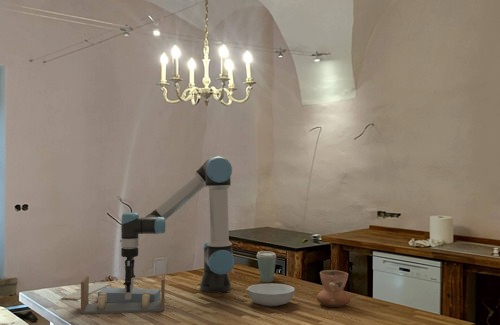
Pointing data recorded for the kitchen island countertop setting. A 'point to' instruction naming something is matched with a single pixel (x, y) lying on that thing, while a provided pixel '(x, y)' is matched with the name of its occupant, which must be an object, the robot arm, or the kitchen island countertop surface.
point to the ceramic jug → (333, 289)
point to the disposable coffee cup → (266, 265)
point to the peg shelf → (119, 307)
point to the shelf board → (119, 296)
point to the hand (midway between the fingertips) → (129, 295)
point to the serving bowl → (271, 294)
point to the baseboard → (92, 289)
